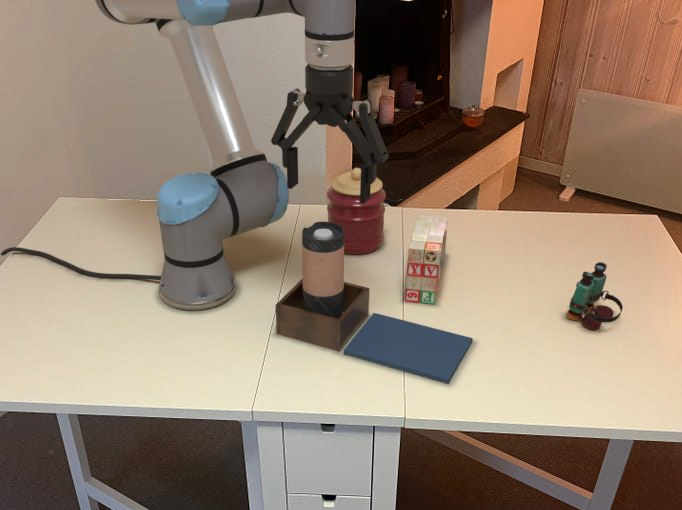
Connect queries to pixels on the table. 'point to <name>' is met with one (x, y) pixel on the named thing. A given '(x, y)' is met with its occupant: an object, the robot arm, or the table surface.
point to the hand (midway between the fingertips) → (328, 193)
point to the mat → (409, 347)
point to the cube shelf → (322, 318)
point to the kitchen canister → (357, 212)
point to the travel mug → (323, 268)
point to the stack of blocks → (426, 259)
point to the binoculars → (592, 299)
